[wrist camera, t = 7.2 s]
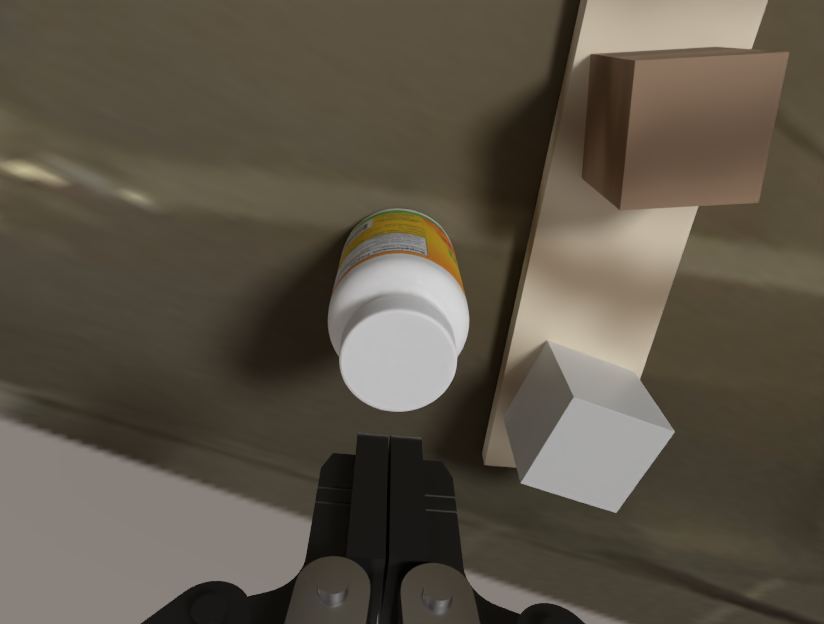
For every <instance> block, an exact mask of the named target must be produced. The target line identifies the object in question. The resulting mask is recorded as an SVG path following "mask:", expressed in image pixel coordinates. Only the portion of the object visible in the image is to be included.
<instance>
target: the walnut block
mask: <svg viewBox="0 0 824 624" xmlns="http://www.w3.org/2000/svg"><path fill="white" fill-rule="evenodd" d="M788 56H789V52H784V51H769V50H755V49H740V48H726V47H703V48H685V49H668V50H650V51H633V52H615V53H598V54H591V56H590V70H589V84H588V98H587V112H586V126H585V140H584V153H583V167H582V179H583V180H584V181H585V182H587V183H588V184H589V185H590V186H591V187H593V188H594V189H595V190H596V191H597V192H599V193H600V194H601V195H602V196H603V197H605V198H606V199H607V200H608V201H609V202H611V203H612V204H613V205H614V206H615V207H617V208H618V209H619V210H637V209H654V208H672V207H690V206H708V205H726V204H744V203H759V198H760V193H761V188H762V183H763V178H764V173H765V168H766V163H767V159H768V154H769V149H770V144H771V139H772V134H773V129H774V124H775V120H776V115H777V110H778V105H779V100H780V95H781V90H782V85H783V81H784V76H785V71H786V66H787V61H788Z"/></svg>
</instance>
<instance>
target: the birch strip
mask: <svg viewBox="0 0 824 624" xmlns="http://www.w3.org/2000/svg"><path fill="white" fill-rule="evenodd" d="M767 2H768V0H581V1H580V5H579V10H578V14H577V19H576V24H575V28H574V33H573V37H572V42H571V47H570V51H569V56H568V60H567V65H566V70H565V74H564V79H563V83H562V88H561V92H560V97H559V102H558V106H557V111H556V115H555V120H554V125H553V129H552V134H551V138H550V143H549V148H548V152H547V157H546V161H545V166H544V171H543V175H542V180H541V184H540V189H539V194H538V198H537V203H536V207H535V212H534V217H533V221H532V226H531V230H530V235H529V240H528V244H527V249H526V253H525V258H524V262H523V267H522V272H521V276H520V281H519V285H518V290H517V295H516V299H515V304H514V308H513V313H512V318H511V322H510V327H509V331H508V336H507V341H506V345H505V350H504V354H503V359H502V364H501V368H500V373H499V377H498V382H497V387H496V391H495V396H494V400H493V405H492V409H491V414H490V419H489V423H488V428H487V432H486V437H485V442H484V446H483V451H482V456H483V461H484V465H489V466H501V467H513V468H516V464H515V460H514V457H513V453H512V449H511V445H510V442H509V438H508V434H507V430H506V427H505V423H504V419H503V417H504V415H505V413H506V412H507V410H508V408H509V406H510V405H511V403H512V401H513V399H514V398H515V396H516V394H517V392H518V390H519V389H520V387H521V385H522V383H523V382H524V380H525V378H526V376H527V375H528V373H529V371H530V369H531V368H532V366H533V364H534V362H535V360H536V359H537V357H538V355H539V353H540V352H541V350H542V348H543V346H544V345H545V343H546V341H547V340H548V341H551V342H554V343H557V344H559V345H562V346H565V347H568V348H570V349H573V350H576V351H579V352H581V353H584V354H587V355H590V356H592V357H595V358H598V359H601V360H604V361H606V362H609V363H612V364H615V365H617V366H620V367H623V368H626V369H628V370H631V371H634V372H635V374H636V375H637V377H638V378H639V380H640V377H641V375H642V372H643V369H644V366H645V363H646V360H647V357H648V354H649V351H650V348H651V345H652V342H653V339H654V336H655V333H656V330H657V327H658V324H659V321H660V318H661V315H662V312H663V309H664V306H665V303H666V301H667V298H668V295H669V292H670V289H671V286H672V283H673V280H674V277H675V274H676V271H677V268H678V265H679V262H680V259H681V256H682V253H683V250H684V247H685V244H686V241H687V238H688V235H689V232H690V230H691V227H692V224H693V221H694V218H695V215H696V212H697V209H698V206H690V207H672V208H654V209H637V210H619V209H618V208H617V207H615V206H614V205H613V204H612V203H611V202H609V201H608V200H607V199H606V198H605V197H603V196H602V195H601V194H600V193H599V192H597V191H596V190H595V189H594V188H593V187H591V186H590V185H589V184H588V183H587V182H585V181H584V180H583V179H582V167H583V153H584V140H585V126H586V112H587V98H588V84H589V70H590V56H591V54H598V53H615V52H633V51H650V50H668V49H685V48H703V47H726V48H740V49H752V46H753V43H754V40H755V37H756V34H757V31H758V28H759V25H760V22H761V19H762V16H763V13H764V10H765V8H766V5H767Z"/></svg>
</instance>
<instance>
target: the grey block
mask: <svg viewBox="0 0 824 624" xmlns="http://www.w3.org/2000/svg"><path fill="white" fill-rule="evenodd" d="M503 419H504V423H505V427H506V430H507V434H508V438H509V442H510V445H511V449H512V453H513V457H514V460H515V464H516V468H517V472H518V475H519V479H520V483H521V484H525V485H528V486H531V487H534V488H538V489H541V490H544V491H547V492H550V493H554V494H557V495H560V496H563V497H566V498H570V499H573V500H576V501H579V502H583V503H586V504H589V505H592V506H595V507H599V508H602V509H605V510H608V511H611V512H615V513H616V512H617V511H618V510H619V508H620V507H621V506H622V504H623V503H624V501H625V500H626V499H627V497H628V496H629V495H630V493H631V492H632V490H633V489H634V488H635V486H636V485H637V483H638V482H639V481H640V479H641V478H642V477H643V475H644V474H645V472H646V471H647V470H648V468H649V467H650V466H651V464H652V463H653V461H654V460H655V459H656V457H657V456H658V454H659V453H660V452H661V450H662V449H663V448H664V446H665V445H666V443H667V442H668V441H669V439H670V438H671V436H672V435H673V434H674V432H675V431H674V430H673V428H672V427H671V425H670V424H669V422H668V421H667V419H666V418H665V416H664V415H663V414H662V412H661V411H660V409H659V408H658V406H657V405H656V403H655V402H654V400H653V399H652V397H651V396H650V394H649V393H648V391H647V390H646V389H645V387H644V386H643V384H642V383H641V381H640V380H639V378H638V377H637V375H636V374H635V372H634V371H631V370H628V369H626V368H623V367H620V366H617V365H615V364H612V363H609V362H606V361H604V360H601V359H598V358H595V357H592V356H590V355H587V354H584V353H581V352H579V351H576V350H573V349H570V348H568V347H565V346H562V345H559V344H557V343H554V342H551V341H548V340H547V341H546V343H545V345H544V346H543V348H542V350H541V352H540V353H539V355H538V357H537V359H536V360H535V362H534V364H533V366H532V368H531V369H530V371H529V373H528V375H527V376H526V378H525V380H524V382H523V383H522V385H521V387H520V389H519V390H518V392H517V394H516V396H515V398H514V399H513V401H512V403H511V405H510V406H509V408H508V410H507V412H506V413H505V415H504V417H503Z"/></svg>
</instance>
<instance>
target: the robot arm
mask: <svg viewBox="0 0 824 624" xmlns="http://www.w3.org/2000/svg"><path fill="white" fill-rule="evenodd" d="M456 511H457V510H456V501H455V493H454V484H453V478H452V476H451V475H450V473H449V472H448V470H447V469H446V467H445V466H444V464H443V462H439V461H426V460H423V454H422V440H421V438H417V437H405V436H393V435H391V436H390V441H389V449H388V435H379V434H367V433H358V436H357V446H356V455H349V454H337V453H333V454H332V455H331V456H330V457H329V459H328V460H327V461H326V462H325V464H324V465H323V466H322V467H321V472H320V478H319V483H318V489H317V495H316V502H315V507H314V513H313V519H312V525H311V532H310V537H309V543H308V549H307V554H306V559H305V563H304V565H303V567H302V569H301V570H300V572H299V573H298V575H297V576H296V577H295V578H294V579H292V580H291V581H290V582H289V583H287V584H286V585H284V586H282V587H280V588H278V589H276V590H273V591H269V592H265V593H261V594H257V595H252V596H248V597H247V595H246V594H245V593H244V592H243V590H242V589H240V588H239V587H237V586H236V585H234V584H231V583H228V582H223V581H210V582H205V583H201V584H198V585H196V586H194V587H191V588H190V589H188V590H187V591H185V592H184V593H183V594H181V595H179V596H178V597H177V598H175V599H174V600H173V601H171V602H170V603H169V604H167V605H166V606H164V607H163V608H162V609H160V610H159V611H157V612H156V613H155V614H153V615H152V616H151V617H149V618H148V619H147V620H145V621H144V622H143V623H141V624H377V617H378V624H585V623H584V622H583V621H581V620H580V619H579V618H578V617H577V616H576V615H574V614H573V613H572V612H570V611H569V610H567V609H565V608H563V607H561V606H558V605H554V604H549V603H540V604H535V605H532V606H530V607H528V608H526V609H525V610H524V611H523V612H522V613H521V614H518V613H515V612H513V611H510V610H507V609H505V608H502V607H499V606H497V605H495V604H492V603H490V602H489V601H487V600H485V599H484V598H483V597H481V596H480V595H479V594H478V593H477V592H476V591H475V590H474V589H473V588H472V586H471V585H470V583H469V582H468V580H467V578H466V576H465V573H464V568H463V560H462V552H461V544H460V535H459V527H458V518H457V514H456Z"/></svg>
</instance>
